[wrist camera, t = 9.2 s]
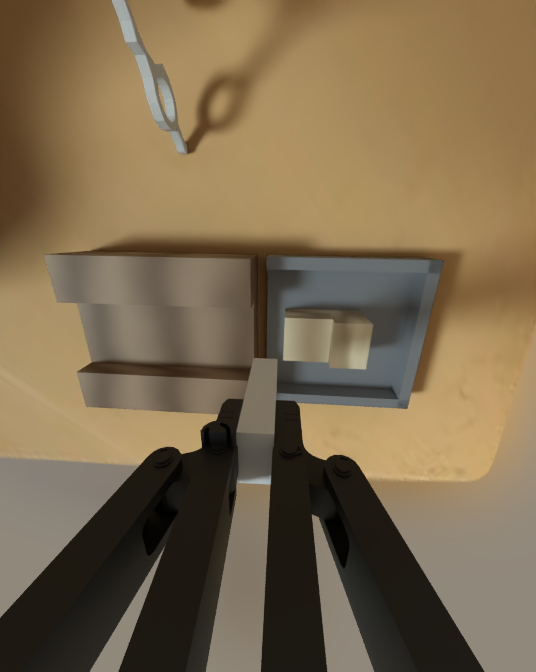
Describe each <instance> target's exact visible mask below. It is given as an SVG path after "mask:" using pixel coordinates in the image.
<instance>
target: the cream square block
mask: <svg viewBox="0 0 536 672" xmlns="http://www.w3.org/2000/svg"><path fill="white" fill-rule="evenodd" d="M332 323H333V319H332V317H331V315H330V313H329V311H328V310H315V309H285V325H284V349H283V361H305V362H327V363H328V360H329V350H330V341H331V332H332Z"/></svg>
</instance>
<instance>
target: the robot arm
mask: <svg viewBox="0 0 536 672" xmlns="http://www.w3.org/2000/svg"><path fill="white" fill-rule="evenodd" d="M277 360H278V359H265V358H253V363H252V367H251V371H250V376H249V380H248V384H247V388H246V393H245V397H244V399H227V400H226V401H225V402H224V403H223V404H222V406H221V409H220V412H219V415H218V418H217V420H216V421H213V422H210V423H208V424H207V425H205V426H204V427H203V428H202V430H201V440H202V448H201V449H199V450H197V451H194V452H190V453H185V454H181V453H180V451H179V450H178V449H176V448H174V447H164V448H160V449H158V450H156V451H154V452H153V453H151V454H150V455H149V456H148V457H147V458H146V459H145V460H144V461H143V463H142V464H141V465H140V466H139V467H138V468H137V469H136V470H135V471H134V472H133V473H132V475H131V476H130V477H129V478H128V479H127V480H126V481H125V482H124V483H123V484H122V485H121V487H120V488H119V489H118V490H117V491H116V492H115V493H114V494H113V495H112V496H111V497H110V499H109V500H108V501H107V502H106V503H105V504H104V505H103V506H102V507H101V509H100V510H99V511H98V512H97V513H96V514H95V515H94V516H93V517H92V518H91V520H89V522H88V523H87V524H86V525H85V526H84V527H83V528H82V529H81V530H80V531H79V532H78V534H77V535H76V536H75V537H74V538H73V539H72V540H71V541H70V542H69V543H68V545H67V546H66V547H65V548H64V549H63V550H62V551H61V552H60V553H59V554H58V556H56V558H55V559H54V560H53V561H52V562H51V563H50V564H49V565H48V566H47V567H46V569H45V570H44V571H43V572H42V573H41V574H40V575H39V576H38V577H37V579H35V580H34V582H33V583H32V584H31V585H30V586H29V587H28V588H27V589H26V590H25V591H24V593H23V594H22V595H21V596H20V597H19V598H18V599H17V600H16V601H15V602H14V604H13V605H12V606H11V607H10V608H9V609H8V610H7V611H6V612H5V613H4V614H3V616H2V617H1V618H0V672H90V670H91V668H92V667H93V665H94V663H95V661H96V660H97V658H98V657H99V655H100V653H101V652H102V650H103V648H104V646H105V645H106V643H107V642H108V640H109V638H110V636H111V635H112V633H113V632H114V630H115V628H116V627H117V625H118V623H119V622H120V620H121V618H122V617H123V615H124V613H125V612H126V610H127V608H128V607H129V605H130V603H131V602H132V600H133V598H134V597H135V595H136V593H137V592H138V590H139V588H140V586H141V585H142V583H143V582H144V580H145V578H146V576H147V575H148V573H149V572H150V570H151V568H152V567H153V565H154V563H155V561H156V560H157V558H158V557H159V555H160V553H161V552H162V550H163V548H164V547H165V548H164V552H163V554H162V556H161V559H160V562H159V565H158V567H157V570H156V573H155V575H154V578H153V581H152V583H151V586H150V589H149V592H148V594H147V597H146V599H145V602H144V605H143V607H142V610H141V613H140V615H139V618H138V621H137V623H136V626H135V629H134V631H133V634H132V637H131V640H130V642H129V645H128V648H127V650H126V653H125V656H124V658H123V661H122V664H121V666H120V669H119V672H206V666H207V661H208V655H209V649H210V643H211V638H212V632H213V626H214V620H215V615H216V609H217V603H218V598H219V592H220V586H221V580H222V575H223V569H224V563H225V557H226V552H227V546H228V540H229V535H230V529H231V523H232V517H233V511H234V505H235V500H236V483H237V478H238V483H255V484H271V488H270V509H269V529H268V546H267V565H266V584H265V605H264V623H263V643H262V661H261V663H262V664H261V672H327V665H326V655H325V645H324V635H323V625H322V614H321V604H320V595H319V584H318V574H317V564H316V553H315V543H314V534H313V523H312V514H313V515H315V516H317V517H319V520H320V523H321V525H322V528H323V531H324V534H325V536H326V539H327V542H328V545H329V547H330V550H331V553H332V556H333V559H334V561H335V564H336V567H337V569H338V572H339V575H340V578H341V581H342V583H343V586H344V589H345V591H346V595H347V597H348V600H349V603H350V606H351V608H352V611H353V614H354V617H355V619H356V622H357V625H358V627H359V630H360V633H361V636H362V639H363V642H364V644H365V647H366V650H367V653H368V655H369V658H370V661H371V664H372V666H373V669H374V672H484V670H483V669H482V667H481V665H480V664H479V662H478V660H477V659H476V657H475V655H474V654H473V652H472V651H471V649H470V647H469V646H468V644H467V642H466V641H465V639H464V637H463V636H462V634H461V633H460V631H459V629H458V628H457V626H456V624H455V623H454V621H453V620H452V618H451V616H450V615H449V613H448V611H447V610H446V608H445V606H444V605H443V603H442V602H441V600H440V598H439V597H438V595H437V593H436V592H435V590H434V589H433V587H432V585H431V583H430V582H429V581H428V579H427V577H426V575H425V574H424V572H423V570H422V569H421V567H420V565H419V564H418V562H417V561H416V559H415V557H414V556H413V554H412V552H411V551H410V549H409V547H408V546H407V544H406V543H405V541H404V539H403V538H402V536H401V534H400V533H399V531H398V529H397V528H396V526H395V525H394V523H393V522H392V520H391V518H390V516H389V515H388V513H387V511H386V510H385V508H384V507H383V505H382V503H381V502H380V500H379V498H378V497H377V495H376V493H375V492H374V490H373V489H372V487H371V485H370V484H369V482H368V480H367V479H366V477H365V475H364V474H363V472H362V471H361V469H360V467H359V466H358V465H357V463H356V462H355V461H354V460H352V459H350V458H349V457H346V456H343V455H333V456H330V457H329V458H328V459H327V460H323V459H319V458H317V457H315V456H313V455H311V454H310V453H308V452H307V450H306V449H305V448H304V445H303V440H302V429H301V419H300V408H299V406H298V404H297V403H296V402H295V401H288V400H276V392H277ZM165 545H166V546H165Z"/></svg>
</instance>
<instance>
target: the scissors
mask: <svg viewBox="0 0 536 672" xmlns="http://www.w3.org/2000/svg"><path fill="white" fill-rule="evenodd" d="M112 2H113V5H114V8H115V10H116V13H117V16H118V18H119V21H120V24H121V28H122V31H123V35H124V39H125V42H126V44H127V45H128V46H129V48H130V49H131V51H132V52H133V54H134V55H135V58H136V61H137V64H138V67H139V69H140V72H141V75H142V78H143V83H144V88H145V93H146V96H147V100H148V103H149V106H150V109H151V112H152V114H153V117H154V119H155V121H156V123H157V124H158V125H159V127H160V128H161V129H162V130H164V131H167V132H170V134H171V136H172V138H173V141H174V143H175V146H176V149H177V152H178V153H179V154H187V145H186V143H185V141H184V139H183V136H182V134H181V131H180V128H179V125H178V118H177V108H176V102H175V98H174V95H173V91H172V87H171V84H170V81H169V78H168V76H167V73H166V71H165V69H164V67H163V64H155V63H154V61H153V60H152V58H151V57H150V55H149V54H148V52H147V50H146V49H145V46H144V44H143V42H142V39H141V37H140V35H139V32H138V29H137V27H136V24H135V21H134V18H133V15H132V12H131V9H130V6H129V3H128V0H112ZM158 85H159V87H160V90H161V92H162V95H163V98H164V102H165V107H166V114H165V112H164V110H163V107H162V104H161V101H160V97H159V91H158Z"/></svg>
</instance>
